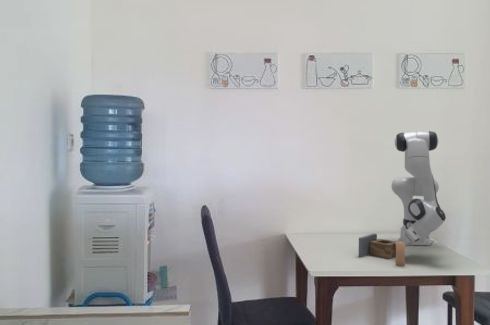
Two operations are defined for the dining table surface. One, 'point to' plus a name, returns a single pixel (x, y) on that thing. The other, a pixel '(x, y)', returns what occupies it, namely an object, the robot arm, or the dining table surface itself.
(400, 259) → the dowel
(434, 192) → the robot arm
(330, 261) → the dining table surface
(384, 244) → the socket block
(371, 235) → the wall
